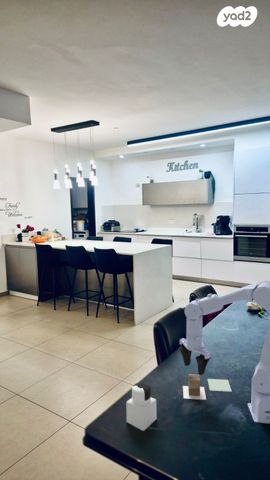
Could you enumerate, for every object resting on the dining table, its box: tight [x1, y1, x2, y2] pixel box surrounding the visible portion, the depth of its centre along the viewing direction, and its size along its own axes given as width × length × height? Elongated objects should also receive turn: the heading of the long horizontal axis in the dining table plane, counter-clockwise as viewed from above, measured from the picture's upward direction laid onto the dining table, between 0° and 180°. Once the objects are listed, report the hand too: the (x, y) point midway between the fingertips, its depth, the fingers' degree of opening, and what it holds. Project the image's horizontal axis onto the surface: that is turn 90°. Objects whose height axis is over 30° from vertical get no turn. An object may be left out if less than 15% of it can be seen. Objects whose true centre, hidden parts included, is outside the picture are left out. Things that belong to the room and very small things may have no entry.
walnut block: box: [187, 373, 201, 396], centre depth 116 cm, size 4×4×6 cm
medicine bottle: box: [125, 382, 157, 432], centre depth 101 cm, size 7×7×12 cm
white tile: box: [182, 385, 207, 401], centre depth 117 cm, size 8×8×1 cm
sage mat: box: [207, 378, 233, 392], centre depth 121 cm, size 8×8×1 cm
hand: (194, 369), depth 116 cm, fingers open, 7 cm apart
